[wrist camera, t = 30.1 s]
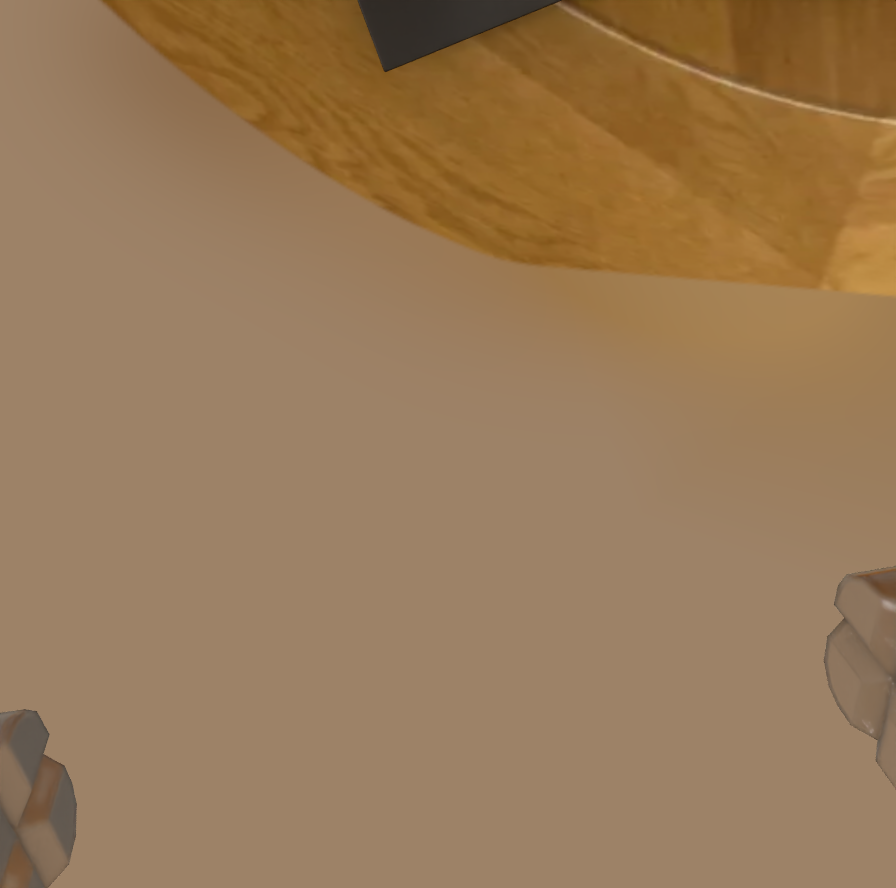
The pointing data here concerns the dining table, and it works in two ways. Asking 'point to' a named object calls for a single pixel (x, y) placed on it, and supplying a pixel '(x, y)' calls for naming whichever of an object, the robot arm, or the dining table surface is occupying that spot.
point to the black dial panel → (434, 24)
